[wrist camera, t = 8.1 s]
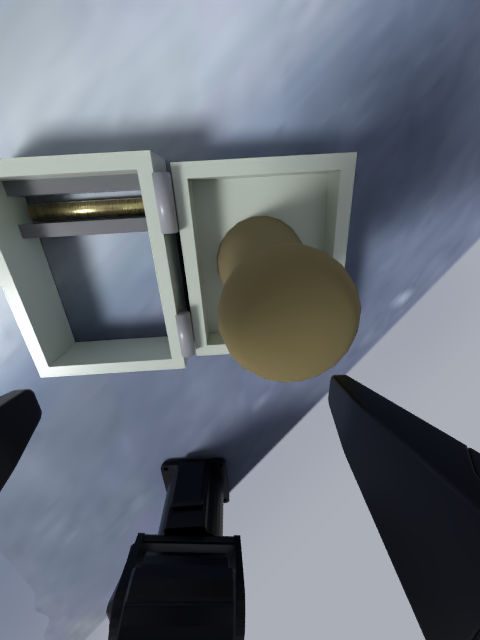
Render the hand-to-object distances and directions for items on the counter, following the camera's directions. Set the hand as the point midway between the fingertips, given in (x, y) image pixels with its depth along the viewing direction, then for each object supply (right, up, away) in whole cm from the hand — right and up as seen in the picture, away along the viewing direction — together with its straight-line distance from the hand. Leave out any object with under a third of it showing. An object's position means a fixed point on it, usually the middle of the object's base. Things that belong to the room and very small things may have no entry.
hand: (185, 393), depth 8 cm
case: (-8, +6, +11) cm, 15 cm away
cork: (+3, +6, +11) cm, 13 cm away
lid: (+3, +7, +11) cm, 13 cm away
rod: (-8, +9, +9) cm, 15 cm away
